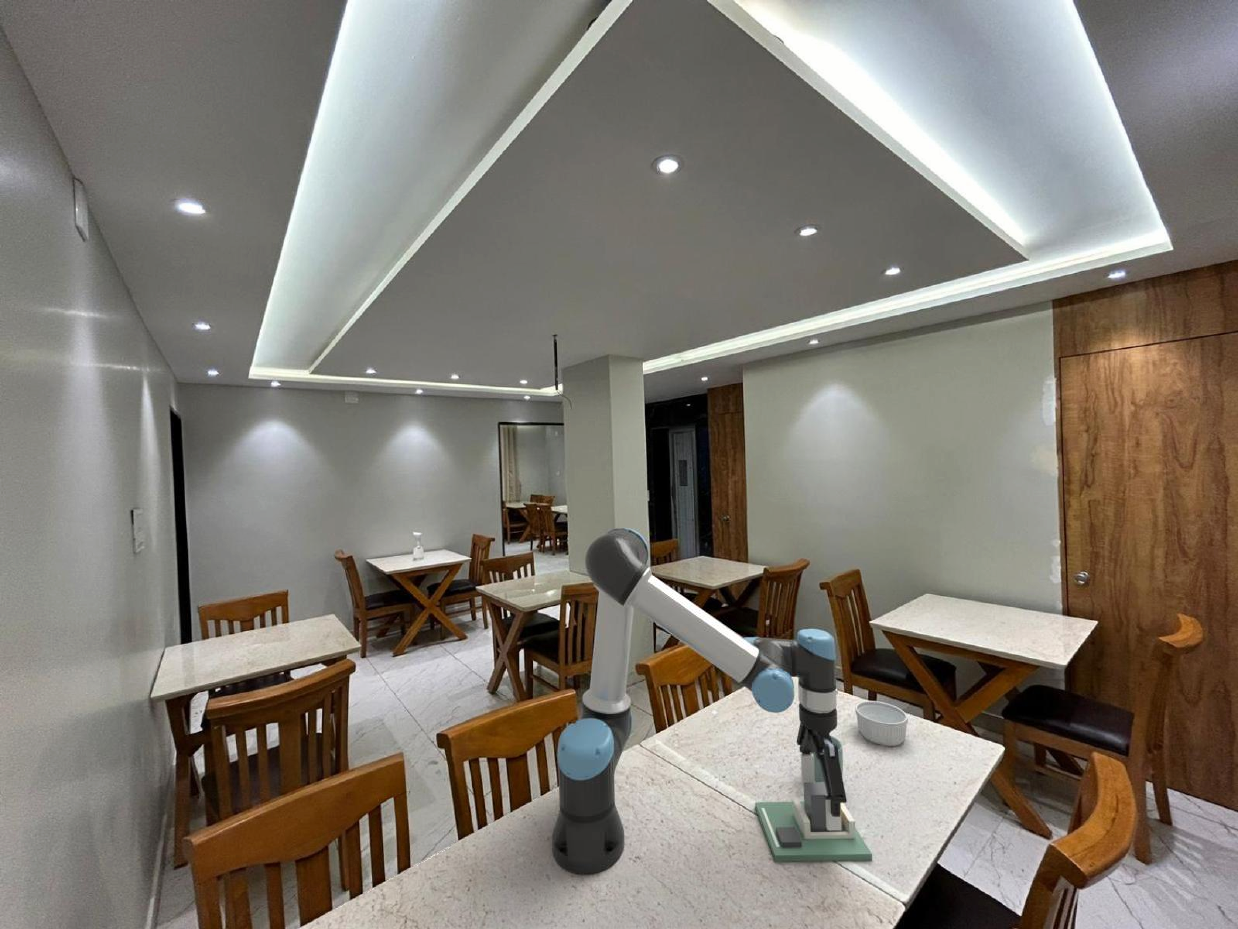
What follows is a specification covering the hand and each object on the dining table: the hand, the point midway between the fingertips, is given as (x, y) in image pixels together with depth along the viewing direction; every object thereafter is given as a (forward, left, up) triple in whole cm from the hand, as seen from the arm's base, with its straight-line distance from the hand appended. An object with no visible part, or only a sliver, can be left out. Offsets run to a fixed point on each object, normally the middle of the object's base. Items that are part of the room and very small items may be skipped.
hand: (820, 805), depth 102 cm
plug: (0, 0, -4) cm, 4 cm away
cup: (+8, +15, -6) cm, 18 cm away
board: (-2, 0, -6) cm, 6 cm away
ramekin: (+32, +35, -6) cm, 48 cm away
